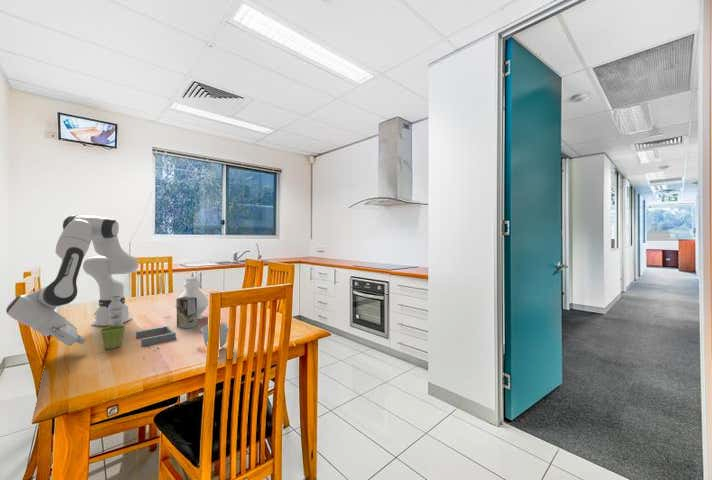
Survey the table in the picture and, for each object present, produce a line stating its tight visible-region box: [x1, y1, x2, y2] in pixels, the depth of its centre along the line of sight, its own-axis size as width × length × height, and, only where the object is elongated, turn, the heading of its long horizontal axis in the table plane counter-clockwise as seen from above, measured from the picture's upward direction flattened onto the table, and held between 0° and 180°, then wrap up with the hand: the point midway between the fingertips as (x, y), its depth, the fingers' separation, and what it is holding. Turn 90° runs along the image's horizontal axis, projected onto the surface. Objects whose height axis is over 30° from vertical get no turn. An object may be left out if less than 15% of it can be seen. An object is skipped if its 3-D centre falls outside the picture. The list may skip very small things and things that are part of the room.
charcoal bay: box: [135, 325, 177, 347], centre depth 155 cm, size 15×14×3 cm
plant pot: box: [99, 324, 126, 350], centre depth 143 cm, size 9×9×9 cm
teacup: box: [200, 323, 230, 348], centre depth 143 cm, size 12×15×10 cm
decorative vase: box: [175, 276, 209, 320], centre depth 190 cm, size 18×18×25 cm
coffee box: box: [175, 297, 198, 329], centre depth 174 cm, size 9×6×16 cm
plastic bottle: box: [108, 296, 125, 334], centre depth 158 cm, size 6×7×20 cm
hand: (84, 342), depth 136 cm, fingers closed
